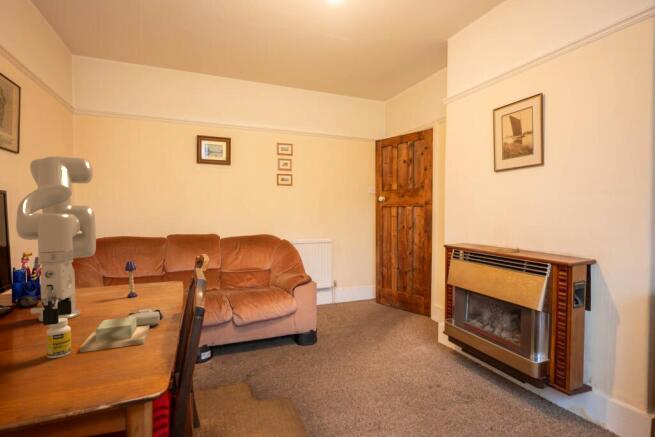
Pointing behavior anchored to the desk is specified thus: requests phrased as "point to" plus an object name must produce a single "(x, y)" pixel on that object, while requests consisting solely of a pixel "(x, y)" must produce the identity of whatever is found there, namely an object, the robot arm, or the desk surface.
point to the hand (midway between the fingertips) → (58, 319)
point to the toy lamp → (131, 277)
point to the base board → (115, 343)
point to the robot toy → (147, 317)
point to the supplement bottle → (58, 339)
